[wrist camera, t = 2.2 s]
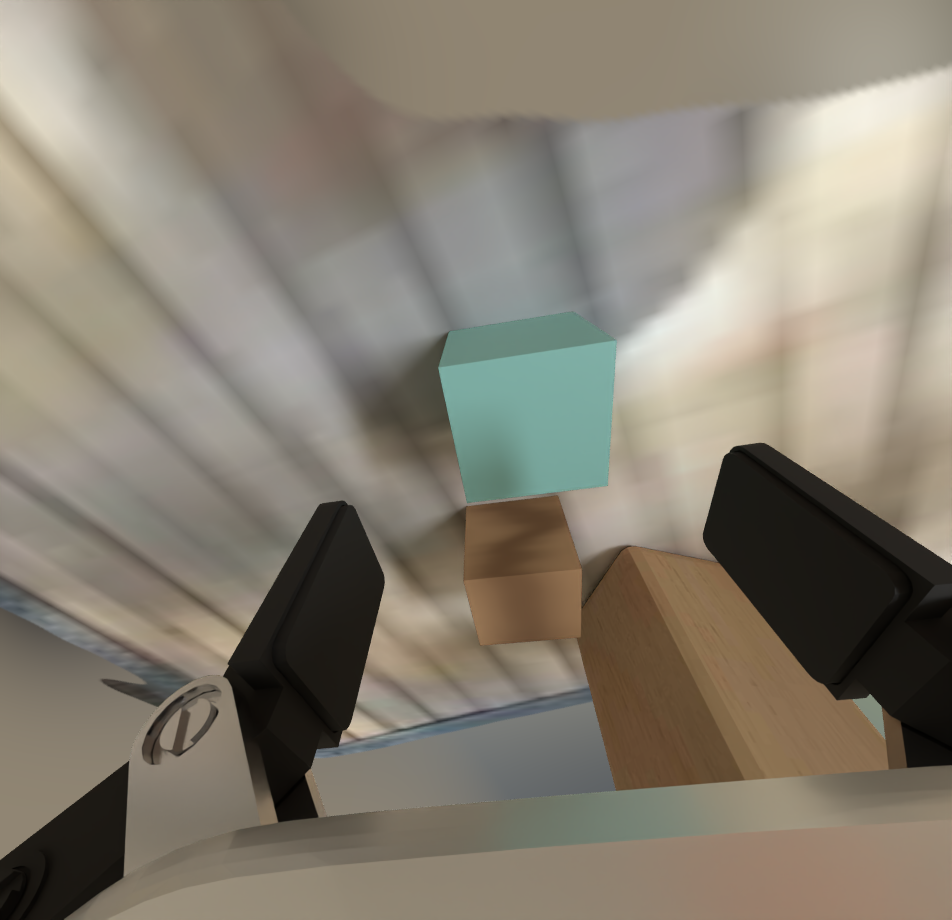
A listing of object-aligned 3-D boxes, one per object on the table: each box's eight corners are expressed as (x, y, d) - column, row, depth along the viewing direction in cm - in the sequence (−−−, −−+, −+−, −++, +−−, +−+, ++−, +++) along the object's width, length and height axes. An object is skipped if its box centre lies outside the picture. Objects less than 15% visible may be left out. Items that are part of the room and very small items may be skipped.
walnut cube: (557, 494, 22) (582, 569, 17) (559, 558, 25) (580, 637, 20) (466, 505, 23) (463, 580, 18) (479, 566, 26) (480, 645, 21)
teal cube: (572, 311, 16) (616, 340, 11) (572, 423, 20) (607, 485, 14) (449, 331, 17) (438, 367, 12) (469, 437, 20) (467, 503, 15)
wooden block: (567, 620, 29) (695, 1141, 12) (622, 537, 24) (975, 1235, 7) (671, 637, 30) (918, 1128, 14) (745, 562, 25) (1290, 1198, 8)
